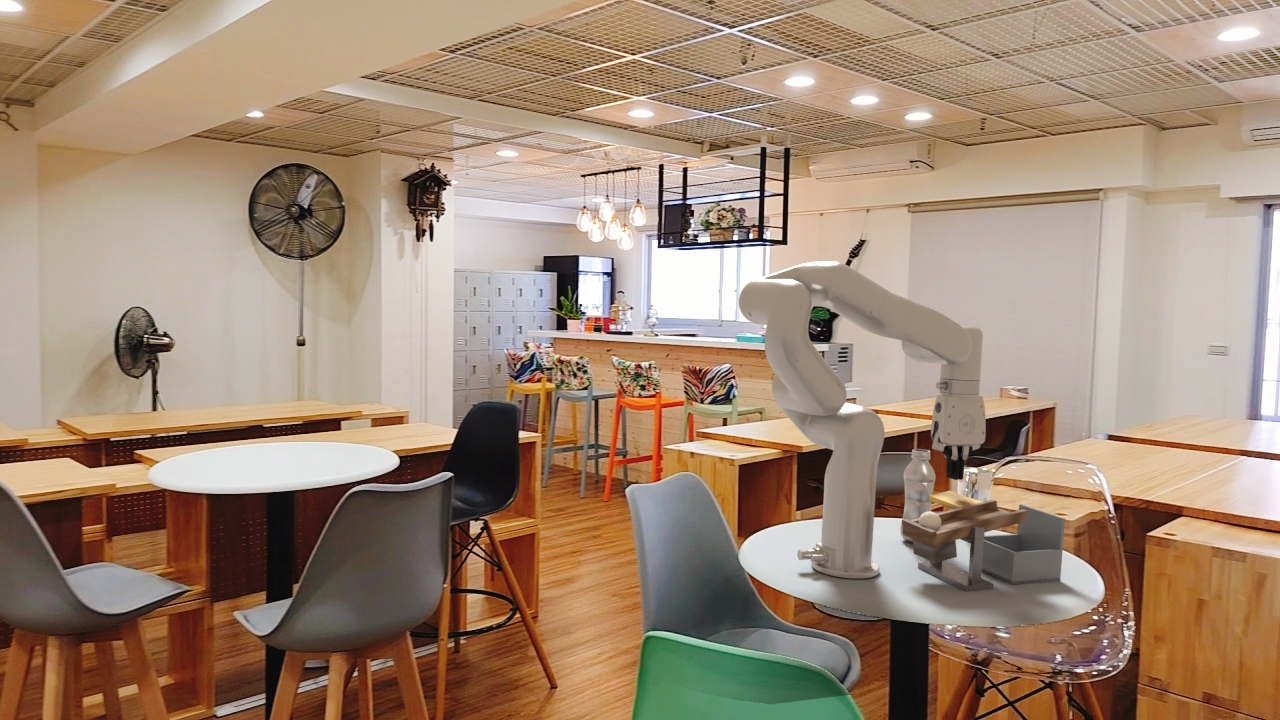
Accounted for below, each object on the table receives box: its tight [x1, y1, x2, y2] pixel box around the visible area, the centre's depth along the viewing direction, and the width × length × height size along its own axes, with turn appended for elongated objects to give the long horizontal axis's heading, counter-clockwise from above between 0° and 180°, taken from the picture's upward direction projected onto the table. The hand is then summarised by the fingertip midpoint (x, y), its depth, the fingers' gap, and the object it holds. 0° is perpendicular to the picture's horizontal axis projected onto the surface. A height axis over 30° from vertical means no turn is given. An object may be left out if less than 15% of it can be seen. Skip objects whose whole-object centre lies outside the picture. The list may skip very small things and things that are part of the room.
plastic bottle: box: [899, 448, 937, 543], centre depth 188 cm, size 6×7×20 cm
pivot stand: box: [917, 511, 995, 592], centre depth 164 cm, size 6×14×11 cm, turn 18°
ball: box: [919, 511, 941, 532], centre depth 162 cm, size 4×4×4 cm
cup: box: [982, 504, 1066, 585], centre depth 169 cm, size 11×11×12 cm
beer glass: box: [956, 466, 992, 536], centre depth 195 cm, size 7×7×15 cm
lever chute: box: [901, 490, 1027, 563], centre depth 169 cm, size 21×19×6 cm
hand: (954, 478), depth 176 cm, fingers closed
